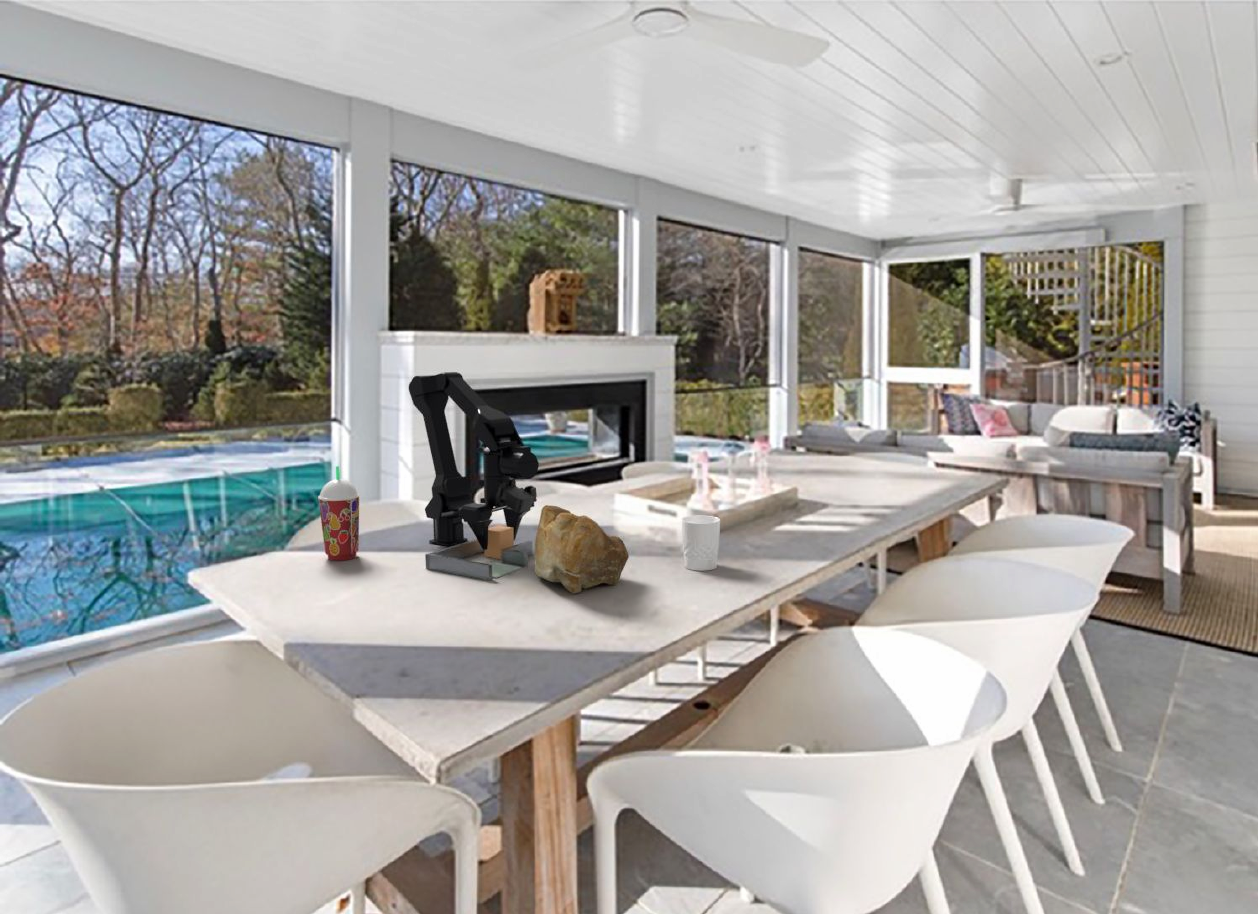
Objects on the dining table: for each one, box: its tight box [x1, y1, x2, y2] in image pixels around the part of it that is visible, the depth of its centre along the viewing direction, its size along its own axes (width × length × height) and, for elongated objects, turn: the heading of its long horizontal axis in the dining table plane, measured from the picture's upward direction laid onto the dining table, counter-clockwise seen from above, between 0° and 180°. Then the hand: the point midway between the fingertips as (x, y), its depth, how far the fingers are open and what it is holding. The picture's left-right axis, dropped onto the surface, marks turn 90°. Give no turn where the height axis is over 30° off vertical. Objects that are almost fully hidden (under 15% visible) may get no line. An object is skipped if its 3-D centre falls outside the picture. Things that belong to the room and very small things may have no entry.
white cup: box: [681, 514, 721, 572], centre depth 163 cm, size 8×8×10 cm
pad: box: [486, 561, 523, 579], centre depth 162 cm, size 8×8×1 cm
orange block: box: [484, 524, 515, 560], centre depth 173 cm, size 4×4×6 cm
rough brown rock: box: [534, 504, 630, 595], centre depth 152 cm, size 23×17×15 cm
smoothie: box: [317, 465, 361, 562], centre depth 171 cm, size 8×8×20 cm
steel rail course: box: [424, 538, 533, 582], centre depth 167 cm, size 17×20×3 cm
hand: (498, 545), depth 173 cm, fingers open, 9 cm apart
